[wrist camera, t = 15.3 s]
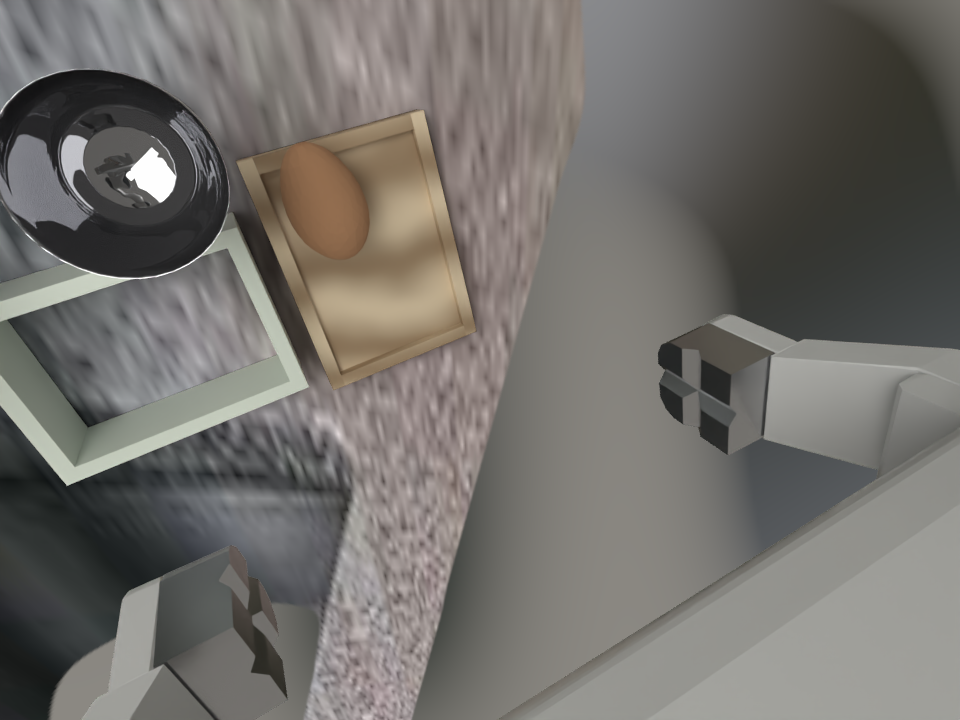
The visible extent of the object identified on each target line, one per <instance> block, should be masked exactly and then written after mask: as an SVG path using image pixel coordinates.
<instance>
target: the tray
mask: <svg viewBox="0 0 960 720" xmlns="http://www.w3.org/2000/svg"><path fill="white" fill-rule="evenodd" d="M304 142H310V143H314V144H317V145H320V146H322V147H324V148H326V149H328V150H329V151H330V152H331V153H333V154H334V155H335V156H336V157H337V158H339V159H340V160H341V161H342V162H343V164H344V165H345V166H346V167H347V168H348V169H349V170H350V171H351V172H352V174H353V175H354V177H355V178H356V180H357V182H358V183H359V185H360V187H361V189H362V192H363V194H364V196H365V199H366V202H367V205H368V209H369V218H370V226H369V232H368V236H367V240H366V242H365V244H364V246H363V248H362V249H361V250H360V251H359V252H358V253H357V254H356V255H355V256H353V257H351V258H349V259H345V260H336V259H331V258H328V257H325V256H323V255H321V254H319V253H318V252H316V251H314V250H313V249H311V248H310V247H309V246H308V245H307V244H305V243H304V241H303V240H302V239H301V238H300V237H299V235H298V234H297V233H296V231H295V230H294V228H293V227H292V225H291V223H290V221H289V218H288V216H287V214H286V211H285V208H284V205H283V201H282V195H281V188H280V169H281V165H282V161H283V158H284V155H285V154H286V152H287V151H288V149H289V148H290V147H291V146H293V145H295V144H293V145H289V146H286V147H282V148H279V149H275V150H272V151H268V152H265V153H261V154H258V155H254V156H251V157H247V158H243V159H240V160H236V163H237V165H238V167H239V170H240V172H241V174H242V177H243V179H244V182H245V184H246V186H247V189H248V191H249V193H250V196H251V198H252V200H253V203H254V205H255V207H256V210H257V212H258V214H259V217H260V219H261V222H262V224H263V226H264V229H265V231H266V233H267V236H268V238H269V240H270V243H271V245H272V247H273V250H274V252H275V254H276V257H277V259H278V262H279V264H280V266H281V269H282V271H283V273H284V276H285V278H286V280H287V283H288V285H289V287H290V290H291V292H292V294H293V297H294V299H295V301H296V304H297V306H298V309H299V311H300V313H301V316H302V318H303V320H304V323H305V325H306V327H307V330H308V332H309V334H310V337H311V339H312V341H313V344H314V346H315V349H316V351H317V353H318V356H319V358H320V360H321V363H322V365H323V367H324V370H325V372H326V374H327V377H328V379H329V381H330V384H331V386H332V388H333V390H336V389H338V388H341V387H343V386H345V385H348V384H350V383H353V382H355V381H358V380H360V379H362V378H365V377H367V376H370V375H372V374H374V373H377V372H379V371H382V370H384V369H387V368H389V367H391V366H394V365H396V364H399V363H401V362H403V361H406V360H408V359H411V358H413V357H416V356H418V355H420V354H423V353H425V352H428V351H430V350H432V349H435V348H437V347H440V346H442V345H445V344H447V343H449V342H452V341H454V340H457V339H459V338H461V337H464V336H466V335H469V334H471V333H474V332H476V327H475V323H474V319H473V315H472V310H471V306H470V302H469V298H468V294H467V290H466V285H465V281H464V277H463V273H462V269H461V265H460V260H459V256H458V252H457V248H456V244H455V239H454V235H453V231H452V227H451V223H450V219H449V214H448V210H447V206H446V202H445V198H444V194H443V189H442V185H441V181H440V177H439V173H438V168H437V164H436V160H435V156H434V152H433V148H432V143H431V139H430V135H429V131H428V127H427V123H426V118H425V114H424V110H413V111H410V112H406V113H403V114H399V115H396V116H392V117H389V118H385V119H381V120H378V121H374V122H371V123H367V124H364V125H360V126H357V127H353V128H350V129H346V130H343V131H339V132H335V133H332V134H328V135H325V136H321V137H318V138H314V139H311V140H307V141H304Z"/></svg>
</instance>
